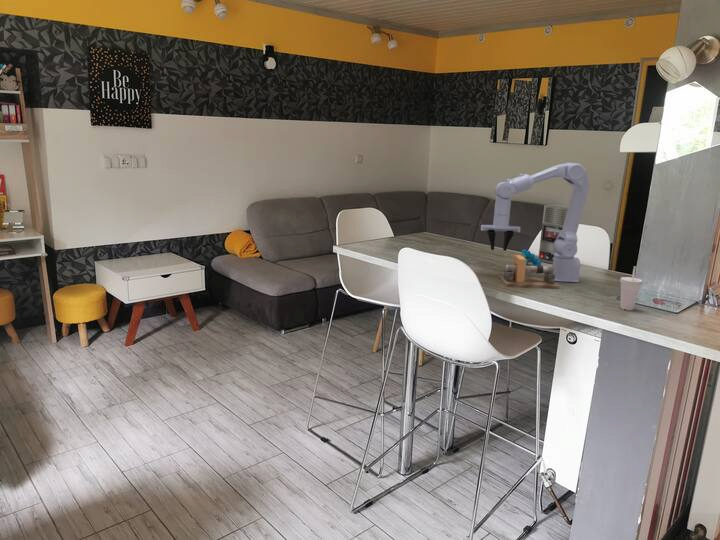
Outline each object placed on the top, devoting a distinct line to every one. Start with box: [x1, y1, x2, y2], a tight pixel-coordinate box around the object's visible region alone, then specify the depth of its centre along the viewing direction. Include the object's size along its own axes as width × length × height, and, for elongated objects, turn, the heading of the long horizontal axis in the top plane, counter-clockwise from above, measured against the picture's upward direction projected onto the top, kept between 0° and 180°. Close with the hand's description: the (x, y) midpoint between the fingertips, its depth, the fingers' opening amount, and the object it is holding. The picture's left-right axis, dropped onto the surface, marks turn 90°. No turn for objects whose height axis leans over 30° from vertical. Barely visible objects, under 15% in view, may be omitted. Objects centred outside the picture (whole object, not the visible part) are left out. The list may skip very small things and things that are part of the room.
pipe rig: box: [498, 264, 560, 290], centre depth 205 cm, size 19×12×7 cm, turn 88°
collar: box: [512, 254, 527, 283], centre depth 205 cm, size 2×9×9 cm, turn 178°
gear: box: [521, 248, 542, 266], centre depth 235 cm, size 11×6×10 cm
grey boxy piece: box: [537, 204, 569, 265], centre depth 241 cm, size 14×6×25 cm, turn 37°
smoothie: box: [619, 265, 643, 311], centre depth 176 cm, size 6×6×14 cm
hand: (498, 250), depth 212 cm, fingers open, 4 cm apart
